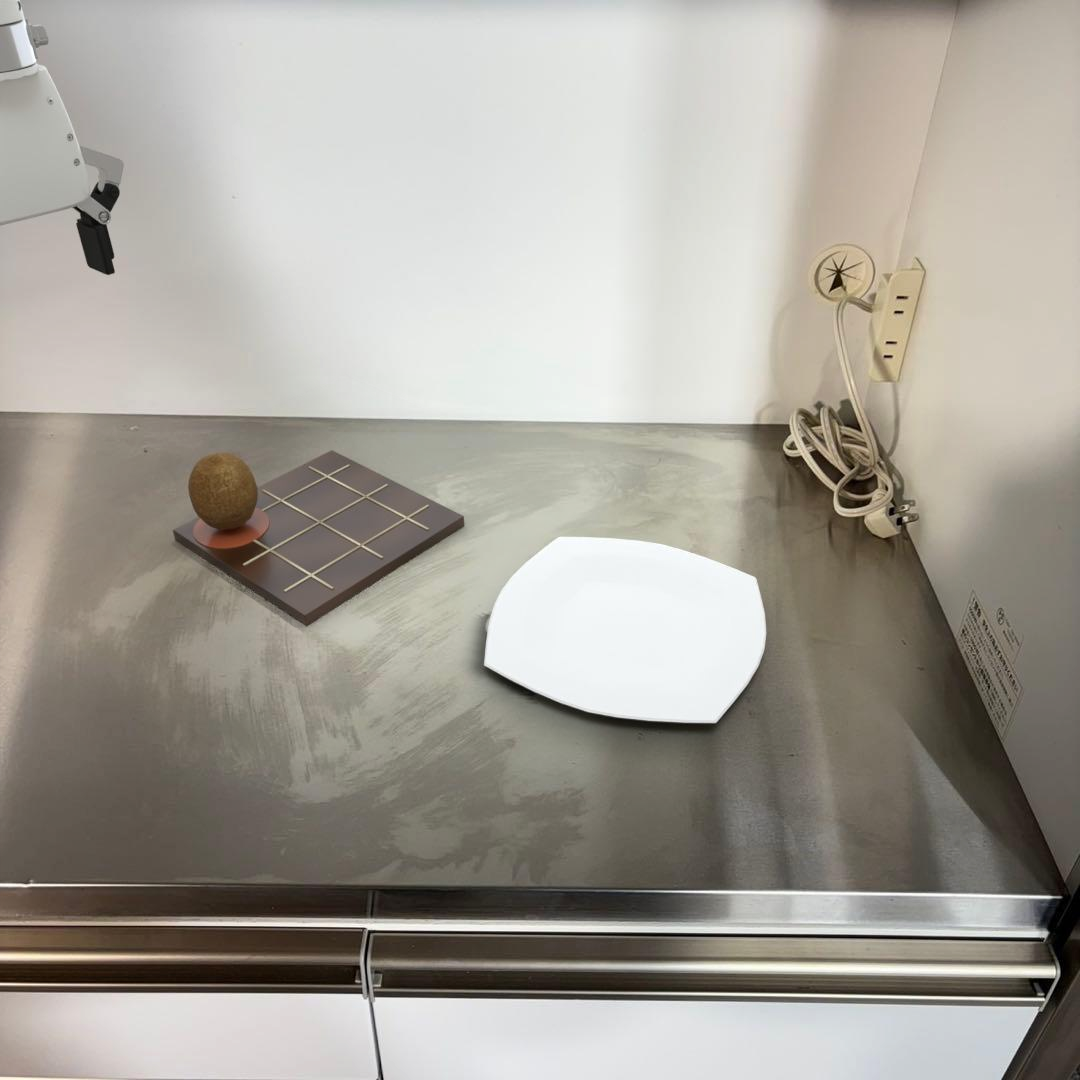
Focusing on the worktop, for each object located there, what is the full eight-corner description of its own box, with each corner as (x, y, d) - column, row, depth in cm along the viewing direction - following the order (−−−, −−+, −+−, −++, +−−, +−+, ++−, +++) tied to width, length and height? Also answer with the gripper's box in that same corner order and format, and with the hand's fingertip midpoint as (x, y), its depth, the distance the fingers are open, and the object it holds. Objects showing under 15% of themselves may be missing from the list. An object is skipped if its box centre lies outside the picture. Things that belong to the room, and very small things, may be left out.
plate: (543, 535, 95) (544, 519, 94) (781, 584, 89) (784, 567, 88) (449, 692, 78) (448, 674, 77) (736, 767, 72) (740, 749, 70)
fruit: (232, 501, 98) (217, 432, 93) (277, 520, 95) (264, 449, 90) (183, 531, 93) (165, 460, 89) (230, 552, 91) (213, 480, 86)
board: (174, 539, 95) (171, 528, 94) (333, 459, 107) (331, 448, 106) (306, 626, 84) (304, 614, 83) (464, 525, 97) (464, 514, 96)
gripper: (63, 31, 75) (119, 249, 85) (-183, 62, 64) (-87, 307, 74) (116, 42, 71) (167, 269, 81) (-137, 77, 60) (-42, 333, 70)
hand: (46, 287), depth 78 cm, fingers open, 9 cm apart
